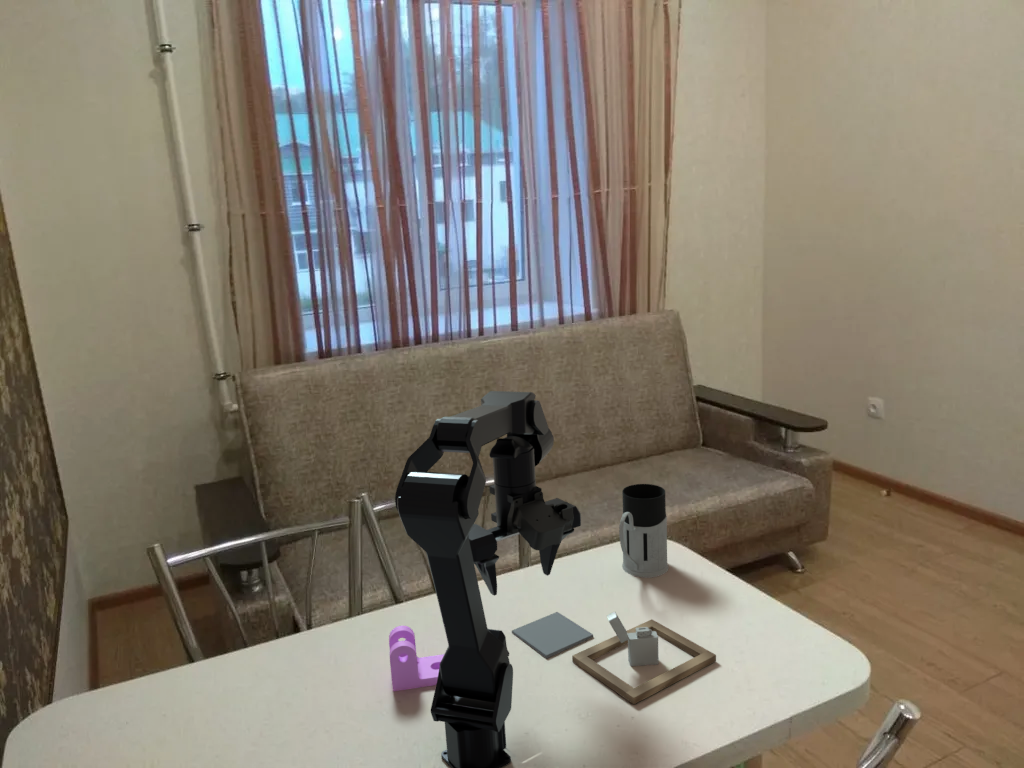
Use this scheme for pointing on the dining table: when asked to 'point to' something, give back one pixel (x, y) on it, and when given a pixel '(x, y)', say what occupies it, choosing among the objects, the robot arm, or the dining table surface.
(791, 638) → the dining table surface
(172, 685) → the dining table surface
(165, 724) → the dining table surface
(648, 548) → the glass holder
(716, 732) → the dining table surface
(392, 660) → the bracket
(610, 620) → the lighter
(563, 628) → the mat
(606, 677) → the frame
